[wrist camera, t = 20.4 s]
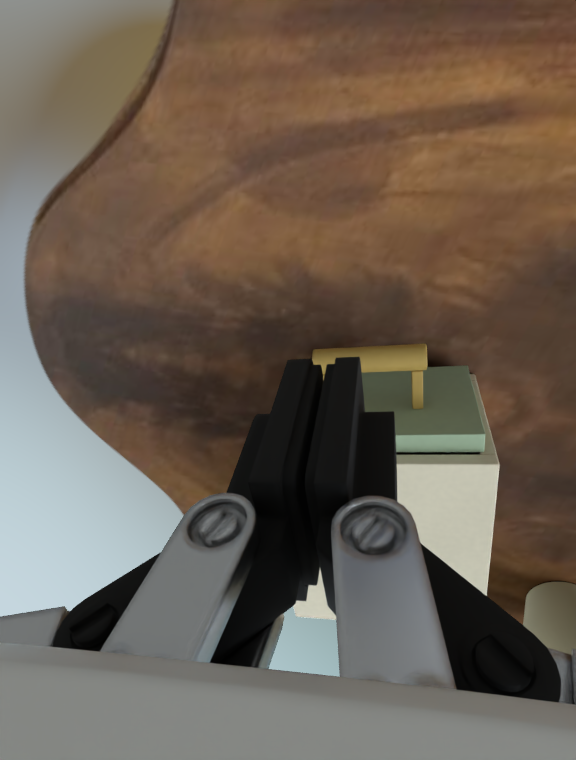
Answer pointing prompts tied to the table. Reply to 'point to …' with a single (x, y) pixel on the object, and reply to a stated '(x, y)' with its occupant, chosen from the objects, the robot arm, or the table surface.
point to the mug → (552, 615)
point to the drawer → (417, 397)
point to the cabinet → (443, 512)
